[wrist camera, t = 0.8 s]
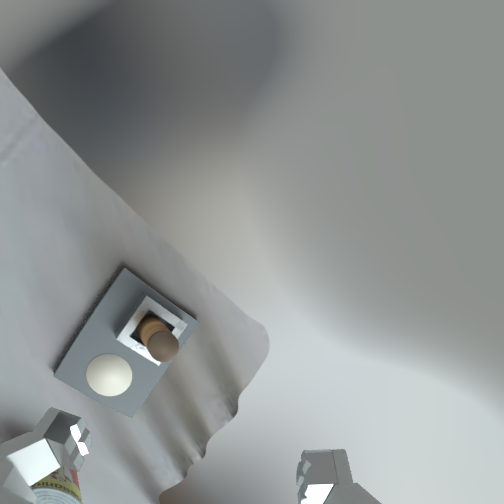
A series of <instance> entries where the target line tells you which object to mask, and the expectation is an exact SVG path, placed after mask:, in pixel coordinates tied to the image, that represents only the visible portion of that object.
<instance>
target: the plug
mask: <svg viewBox="0 0 504 504" xmlns="http://www.w3.org/2000/svg"><path fill="white" fill-rule="evenodd" d="M136 330H137V333H138V335H139V337H140V338H141V340H142V342H143V343H144V345H145V347H146V348H147V350H148V352H149V353H150V355H151V356H152V358H153V359H155V360H156V361H159V362H167V361H170V360H172V359H173V358H174V357H175V356H176V355H177V353H178V351H179V342H178V340H177V338H176V337H175V336H174V335H173V334H172V333H171V332H170V330H169V329H168V328H167V327H166V326H165V325H164V324H163V323H162V321H161V320H160V319H159V318H158V317H157V316H155V315H151V314H148V315H144V317H143V318H142V320H141V321H140V322H139V324H138V325H137V327H136Z"/></svg>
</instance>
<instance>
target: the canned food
mask: <svg viewBox="0 0 504 504" xmlns="http://www.w3.org/2000/svg"><path fill="white" fill-rule="evenodd" d="M30 488H31V489H32V490H33V492H34V493H35V494H36V496H37V498H36V500H35V502H34V503H35V504H83V503H82V498H81V493H80V488H79V483H78V477H77V471H74V470H71V469H68V468H65V467H63V466H60V467H59V468H58V469H56V470H55V471H53V472H52V473H50V474H49V475H47V476H46V477H44V478H42V479H41V480H39V481H38V482H36V483H34V484H33V485H31V486H30Z"/></svg>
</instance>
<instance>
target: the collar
mask: <svg viewBox="0 0 504 504" xmlns="http://www.w3.org/2000/svg"><path fill="white" fill-rule="evenodd" d="M149 309H150V310H151V311H152V312H154V313H155V314H157V315H158V316H160V317H161V318H163V319H164V320H166V321H167V322H169V323H170V325H169V326H168V329H169V330H170V332H171V333H172V334H173V335H174V336H175V337H176V338H177V339H178V338H179V336H180V335H181V333H182V332H183V331H184V329H185V328H186V326H187V325H188V324H187V323H186V322H185V321H183V320H182V319H181V318H179V317H178V316H176V315H175V314H173V313H172V312H171V311H169V310H168V309H166V308H165V307H163V306H162V305H161V304H159V303H158V302H156V301H155V300H154V299H152V298H151V297H150V296H148V295H147V294H145V293H144V292H143V294H142V295H141V297H140V298H139V299H138V301H137V302H136V304H135V305H134V307H133V308H132V309H131V311H130V312H129V314H128V315H127V317H126V318H125V320H124V321H123V322H122V324H121V325H120V327H119V328H118V330H117V331H116V333H115V337H116V340H118V341H120V342H121V343H123V344H124V345H126V346H128V347H129V348H131V349H132V350H134V351H136V352H137V353H139V354H141V355H142V356H144V357H146V358H147V359H149V360H151V361H152V362H154V363H156V364H158V365H160V363H161V362H159V361H156V360H155V359H153V358H152V356H151V355H150V353H149V352H148V350H147V348H146V347H145V345H144V343H143V342H142V341H140V340H139V339H137V338H136V337H134V336H133V335H131V334H132V333H133V331H134V330H135V328H136V327H137V325H138V324H139V322H140V321H141V320H142V318H143V317H144V315H145V314H146V312H147V311H148V310H149Z"/></svg>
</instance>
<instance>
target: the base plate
mask: <svg viewBox="0 0 504 504" xmlns="http://www.w3.org/2000/svg"><path fill="white" fill-rule="evenodd" d="M143 292H144V293H145V294H147V295H148V296H150V297H151V298H152V299H154V300H155V301H156V302H158V303H159V304H161V305H162V306H163V307H165V308H166V309H168V310H169V311H171V312H172V313H173V314H175V315H176V316H178V317H179V318H181V319H182V320H183V321H185V322H186V323H187V324H188V325H187V326H186V328H185V329H184V331H183V332H182V333H181V335H180V336H179V338H178V339H177V340H178V342H179V351H180V349H181V348H182V347H183V345H184V344H185V342H186V341H187V339H188V338H189V337H190V335H191V334H192V332H193V331H194V330H195V328H196V327H197V325H198V324H199V323H200V322H199V321H197V320H196V319H194V318H193V317H192V316H190V315H189V314H187V313H186V312H184V311H183V310H182V309H180V308H179V307H177V306H176V305H175V304H173V303H172V302H170V301H169V300H168V299H166V298H165V297H164V296H162V295H161V294H159V293H158V292H157V291H155V290H154V289H153V288H151V287H150V286H149V285H147V284H146V283H145V282H143V281H142V280H141V279H139V278H138V277H137V276H135V275H134V274H133V273H131V272H130V271H129V270H128V269H126V268H125V267H123V268H122V270H121V271H120V272H119V274H118V275H117V276H116V278H115V279H114V281H113V282H112V284H111V285H110V286H109V288H108V289H107V291H106V292H105V294H104V295H103V297H102V298H101V299H100V301H99V302H98V304H97V305H96V307H95V308H94V310H93V311H92V313H91V314H90V316H89V317H88V319H87V320H86V322H85V323H84V325H83V326H82V328H81V330H80V331H79V333H78V334H77V336H76V337H75V339H74V341H73V342H72V344H71V345H70V347H69V349H68V350H67V352H66V353H65V355H64V357H63V358H62V360H61V362H60V363H59V365H58V367H57V368H56V370H55V372H54V377H56V378H58V379H59V380H61V381H63V382H64V383H66V384H68V385H69V386H71V387H73V388H74V389H76V390H78V391H80V392H82V393H83V394H85V395H87V396H89V397H91V398H93V399H94V400H96V401H98V402H100V403H102V404H104V405H106V406H108V407H110V408H112V409H114V410H116V411H118V412H120V413H122V414H124V415H126V416H128V417H131V418H132V417H133V416H134V415H135V413H136V412H137V410H138V409H139V408H140V406H141V405H142V403H143V402H144V400H145V399H146V398H147V396H148V395H149V393H150V392H151V391H152V389H153V388H154V386H155V385H156V383H157V382H158V381H159V379H160V378H161V376H162V375H163V373H164V372H165V371H166V369H167V368H168V366H169V365H170V364H171V362H172V361H173V359H174V358H175V357H174V358H173V359H172V360H170V361H167V362H161V363H160V365H158V364H156V363H154V362H152V361H151V360H149V359H147V358H146V357H144V356H142V355H141V354H139V353H137V352H136V351H134V350H132V349H131V348H129V347H128V346H126V345H124V344H123V343H121V342H120V341H118V340H116V337H115V333H116V331H117V330H118V328H119V327H120V325H121V324H122V322H123V321H124V320H125V318H126V317H127V315H128V314H129V312H130V311H131V309H132V308H133V307H134V305H135V304H136V302H137V301H138V299H139V298H140V297H141V295H142V294H143ZM148 314H151V315H155V316H157V317H158V318H159V319H160V320H161V321H162V323H163V324H164V325H165V326H166V327H167V328H168V326H169V325H170V323H169V322H167V321H166V320H164V319H163V318H161V317H160V316H158V315H157V314H155V313H154V312H152V311H151V310H150V309H149V310H148V311H147V312H146V314H145V315H148ZM131 335H133V336H134V337H136V338H137V339H139V340H140V341H142V340H141V338H140V337H139V335H138V333H137V330H136V328H135V330H134V331H133V333H132V334H131ZM179 351H178V352H179ZM177 354H178V353H177Z"/></svg>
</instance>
